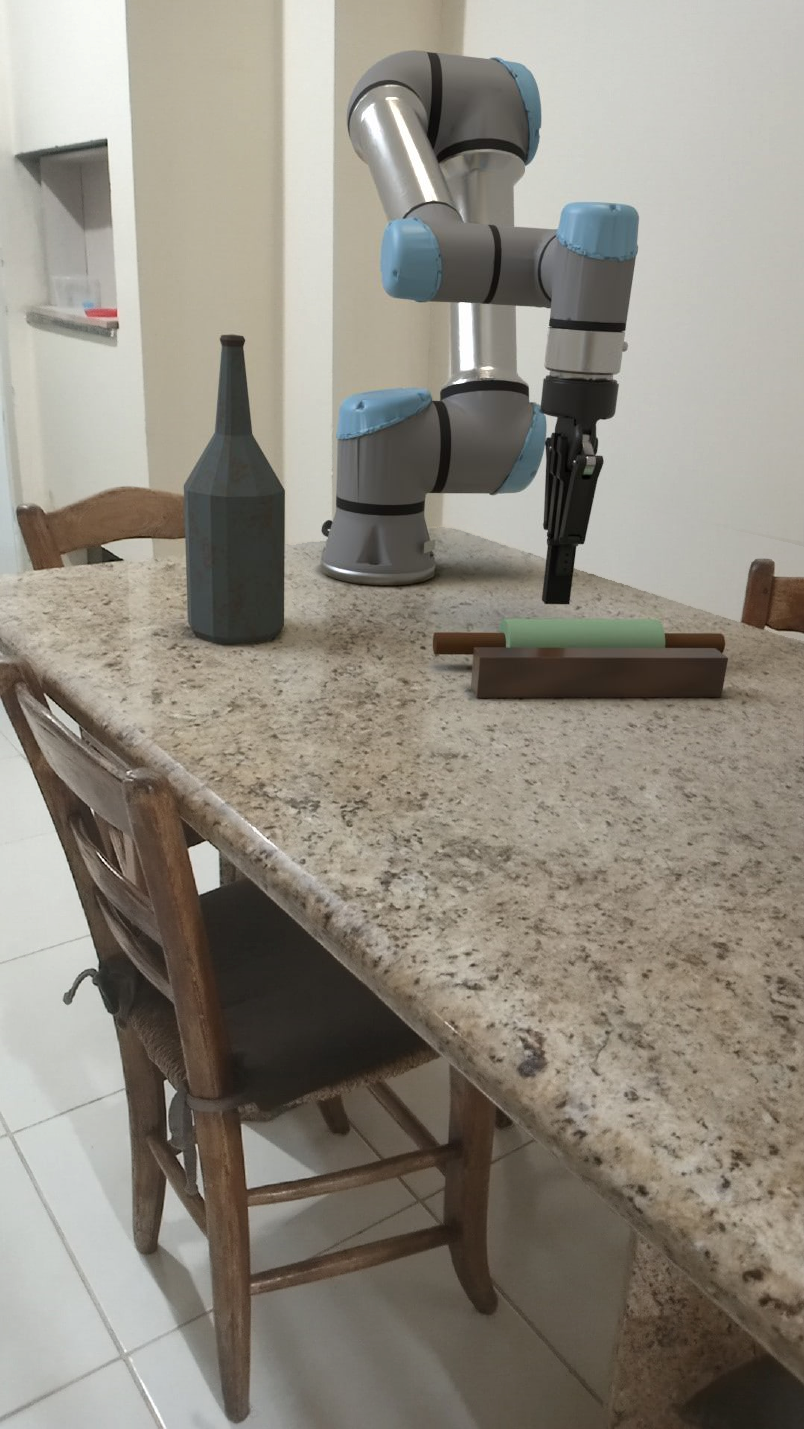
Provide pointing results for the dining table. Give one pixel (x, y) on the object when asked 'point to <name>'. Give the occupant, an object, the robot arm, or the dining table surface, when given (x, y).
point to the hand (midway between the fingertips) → (555, 602)
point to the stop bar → (597, 672)
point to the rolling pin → (574, 636)
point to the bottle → (234, 523)
